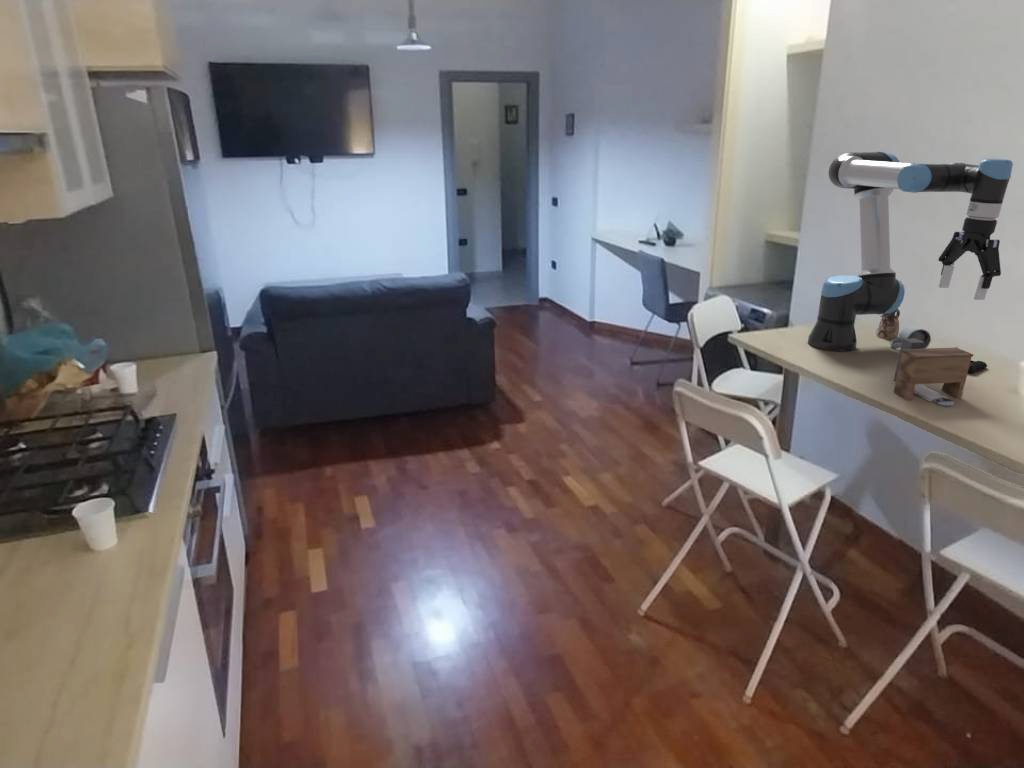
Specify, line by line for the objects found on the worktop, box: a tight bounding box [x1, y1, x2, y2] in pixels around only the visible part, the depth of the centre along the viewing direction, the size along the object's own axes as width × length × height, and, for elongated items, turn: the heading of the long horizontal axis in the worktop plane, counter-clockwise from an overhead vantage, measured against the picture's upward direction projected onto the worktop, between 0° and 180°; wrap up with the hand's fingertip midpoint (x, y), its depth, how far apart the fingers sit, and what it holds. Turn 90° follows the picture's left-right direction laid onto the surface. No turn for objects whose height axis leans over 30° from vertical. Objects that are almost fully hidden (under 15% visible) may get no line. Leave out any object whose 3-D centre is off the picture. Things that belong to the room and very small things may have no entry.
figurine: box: [875, 307, 901, 340], centre depth 241 cm, size 7×7×12 cm
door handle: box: [967, 360, 988, 374], centre depth 216 cm, size 3×20×16 cm
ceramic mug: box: [889, 325, 932, 349], centre depth 229 cm, size 11×8×8 cm
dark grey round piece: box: [934, 397, 955, 408], centre depth 182 cm, size 4×4×1 cm
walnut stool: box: [893, 347, 974, 401], centre depth 187 cm, size 6×16×13 cm, turn 97°
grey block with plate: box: [893, 338, 948, 402], centre depth 190 cm, size 16×5×13 cm, turn 7°
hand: (960, 293), depth 194 cm, fingers open, 13 cm apart
